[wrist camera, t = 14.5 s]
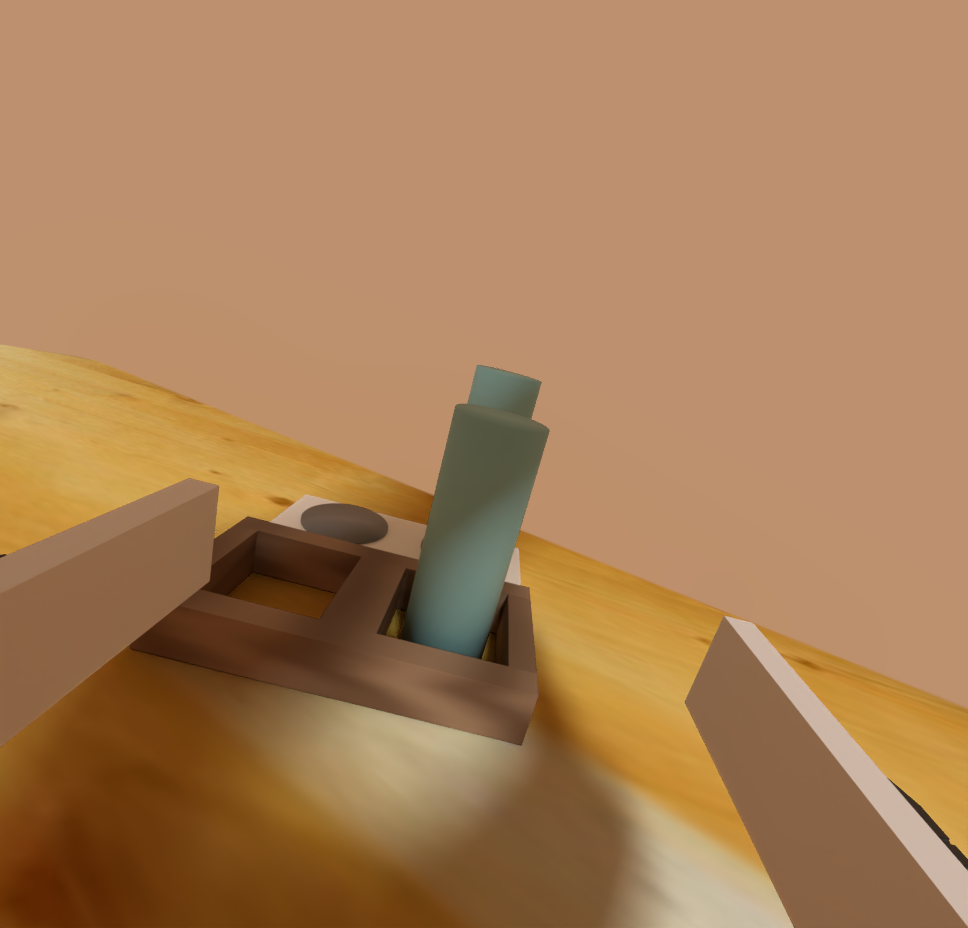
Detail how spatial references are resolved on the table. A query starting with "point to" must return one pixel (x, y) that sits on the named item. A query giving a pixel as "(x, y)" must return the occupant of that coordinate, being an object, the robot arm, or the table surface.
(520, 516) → the teal pin
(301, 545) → the brown wooden peg holder
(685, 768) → the table surface
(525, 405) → the pin
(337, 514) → the pattern plate
